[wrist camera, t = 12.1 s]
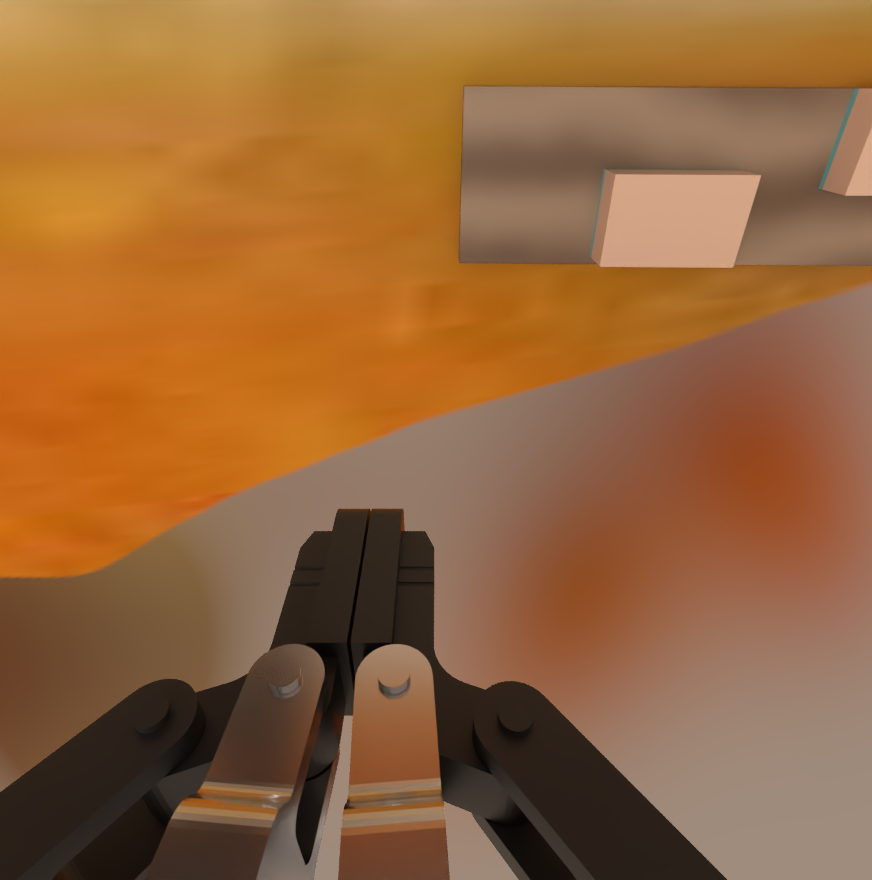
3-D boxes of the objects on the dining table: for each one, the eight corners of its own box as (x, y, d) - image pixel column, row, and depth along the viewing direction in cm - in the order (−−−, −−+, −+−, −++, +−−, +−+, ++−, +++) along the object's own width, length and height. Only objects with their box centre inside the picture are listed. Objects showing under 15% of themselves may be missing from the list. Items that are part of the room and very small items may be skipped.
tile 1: (615, 174, 29) (761, 175, 29) (603, 168, 31) (739, 169, 31) (599, 266, 32) (733, 267, 32) (589, 255, 34) (715, 256, 34)
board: (463, 86, 30) (464, 86, 29) (958, 89, 30) (976, 89, 29) (458, 258, 35) (459, 263, 34) (881, 260, 35) (894, 265, 34)
